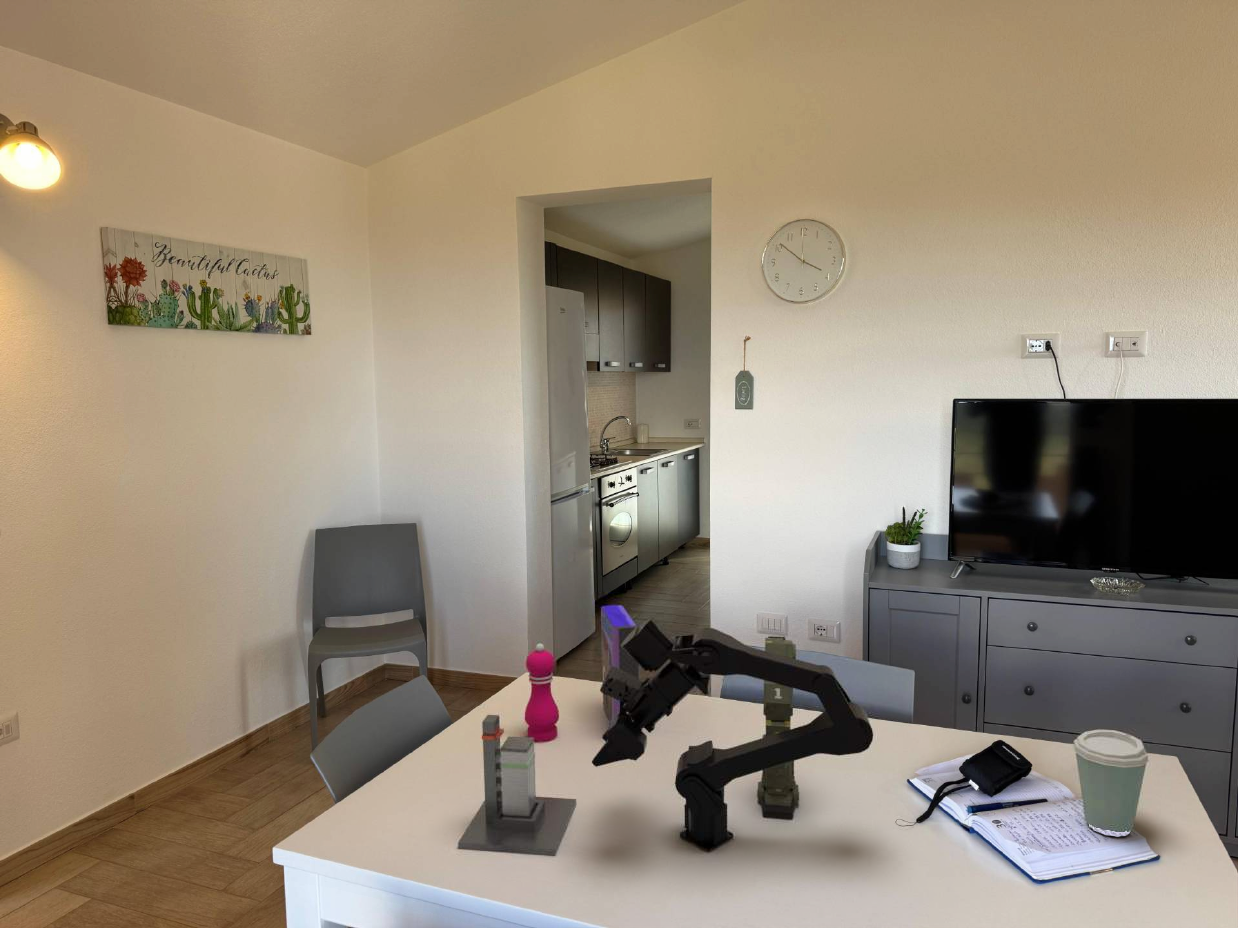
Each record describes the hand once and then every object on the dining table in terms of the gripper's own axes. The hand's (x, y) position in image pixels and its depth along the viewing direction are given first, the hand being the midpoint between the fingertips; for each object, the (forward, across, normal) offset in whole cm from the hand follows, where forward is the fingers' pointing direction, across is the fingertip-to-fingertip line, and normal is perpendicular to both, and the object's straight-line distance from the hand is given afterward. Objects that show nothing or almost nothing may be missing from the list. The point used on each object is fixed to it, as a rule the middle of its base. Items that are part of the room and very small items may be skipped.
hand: (599, 751), depth 138 cm
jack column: (+18, 0, -1) cm, 18 cm away
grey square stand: (+19, 0, 0) cm, 19 cm away
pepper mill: (+23, -35, -3) cm, 42 cm away
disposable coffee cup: (-49, -12, +68) cm, 84 cm away
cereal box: (+12, -43, +7) cm, 45 cm away
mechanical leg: (-11, -14, +30) cm, 35 cm away
